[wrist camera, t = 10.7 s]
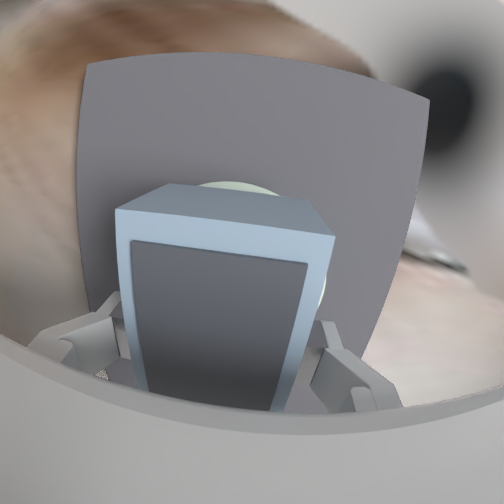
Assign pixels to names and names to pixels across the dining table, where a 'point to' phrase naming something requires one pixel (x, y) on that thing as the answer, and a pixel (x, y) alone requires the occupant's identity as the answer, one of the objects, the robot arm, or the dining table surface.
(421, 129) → the charging mat
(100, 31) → the dining table surface
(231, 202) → the phone
